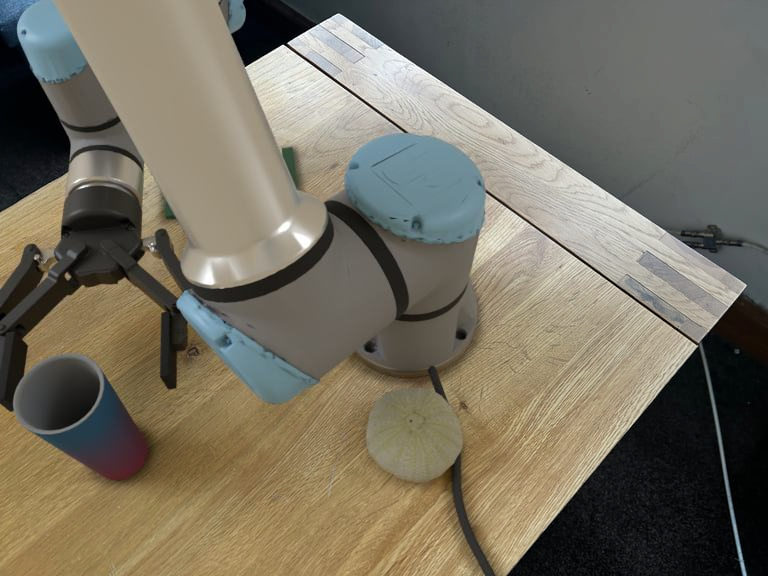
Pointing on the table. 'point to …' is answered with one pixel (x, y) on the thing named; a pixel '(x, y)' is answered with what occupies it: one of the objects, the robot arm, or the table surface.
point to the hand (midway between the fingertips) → (88, 394)
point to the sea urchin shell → (414, 434)
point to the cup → (80, 415)
